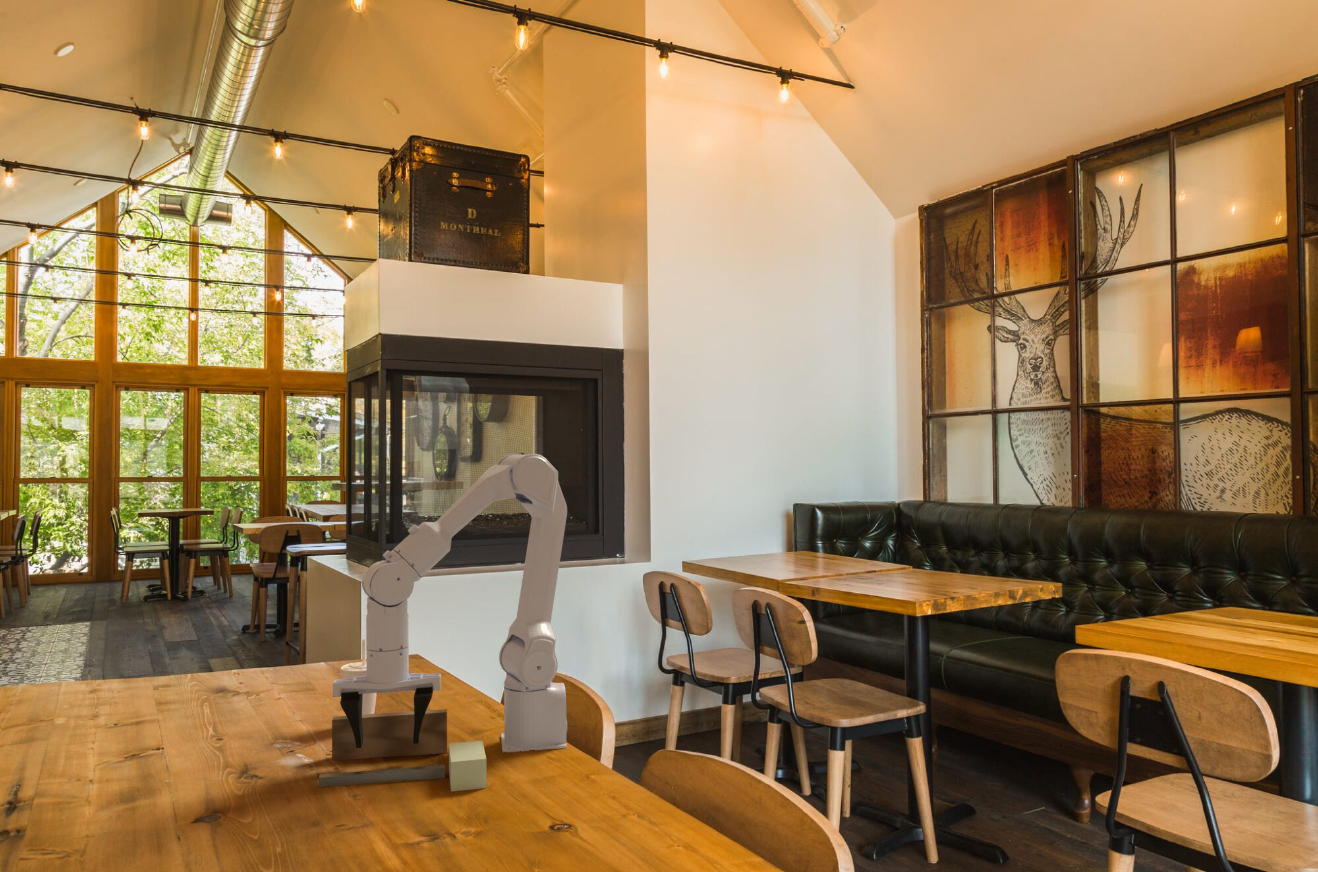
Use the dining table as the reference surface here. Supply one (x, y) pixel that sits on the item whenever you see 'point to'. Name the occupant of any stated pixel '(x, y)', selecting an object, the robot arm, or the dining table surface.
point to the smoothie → (358, 671)
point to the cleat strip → (382, 776)
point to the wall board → (390, 735)
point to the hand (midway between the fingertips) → (388, 743)
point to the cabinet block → (467, 765)
